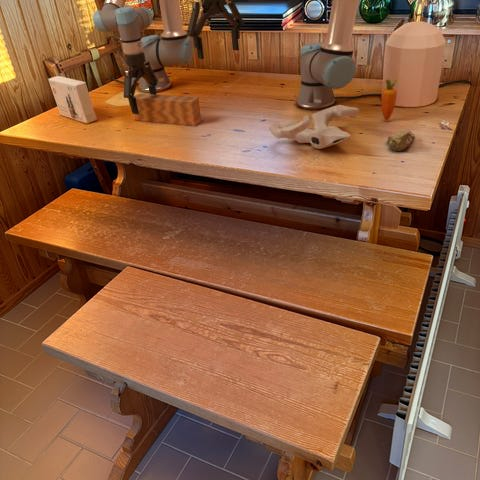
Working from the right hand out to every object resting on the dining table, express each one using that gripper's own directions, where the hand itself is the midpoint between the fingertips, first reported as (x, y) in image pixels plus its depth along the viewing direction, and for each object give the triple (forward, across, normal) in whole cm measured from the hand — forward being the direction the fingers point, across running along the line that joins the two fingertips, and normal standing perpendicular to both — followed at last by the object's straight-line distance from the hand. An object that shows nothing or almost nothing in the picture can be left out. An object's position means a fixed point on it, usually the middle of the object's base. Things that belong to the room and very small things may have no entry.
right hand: (218, 54), depth 152 cm
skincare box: (+28, -36, +63) cm, 78 cm away
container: (+28, +72, -21) cm, 80 cm away
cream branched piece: (+28, +17, -31) cm, 45 cm away
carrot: (+28, +48, -31) cm, 64 cm away
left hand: (+24, -14, +39) cm, 48 cm away
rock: (+28, +35, -49) cm, 66 cm away
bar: (+28, -9, +30) cm, 42 cm away
